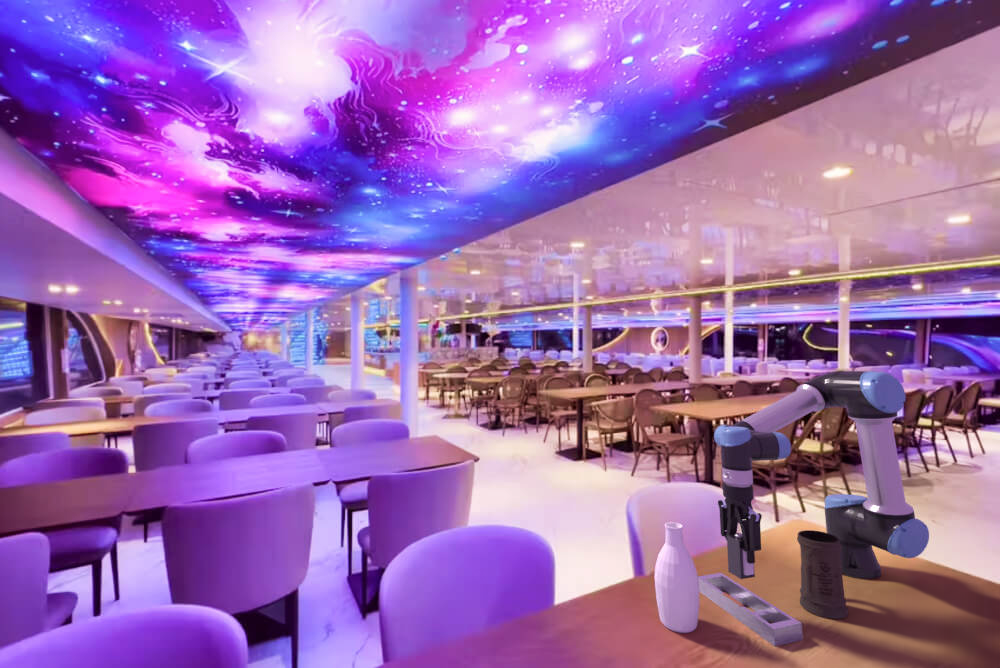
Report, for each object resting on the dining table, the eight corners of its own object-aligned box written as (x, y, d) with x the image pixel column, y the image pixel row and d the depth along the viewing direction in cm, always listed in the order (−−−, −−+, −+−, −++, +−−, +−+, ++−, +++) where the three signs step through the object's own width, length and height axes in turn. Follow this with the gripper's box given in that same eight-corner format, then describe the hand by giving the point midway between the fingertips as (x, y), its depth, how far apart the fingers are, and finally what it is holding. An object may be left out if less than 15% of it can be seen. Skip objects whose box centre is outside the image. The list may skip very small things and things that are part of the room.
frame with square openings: (721, 586, 136) (720, 571, 137) (802, 639, 110) (801, 621, 110) (697, 590, 134) (696, 575, 135) (774, 646, 108) (773, 627, 108)
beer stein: (858, 622, 116) (850, 542, 119) (812, 619, 118) (805, 539, 121) (828, 596, 131) (821, 525, 134) (787, 593, 133) (781, 523, 136)
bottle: (680, 641, 111) (675, 536, 112) (647, 618, 120) (642, 522, 122) (711, 627, 116) (705, 527, 117) (676, 607, 126) (671, 515, 127)
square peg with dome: (741, 569, 125) (740, 530, 126) (754, 576, 121) (752, 536, 122) (728, 571, 124) (726, 532, 125) (740, 579, 120) (739, 538, 121)
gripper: (704, 476, 132) (707, 558, 130) (751, 493, 115) (755, 587, 113) (725, 474, 134) (729, 555, 132) (775, 491, 117) (779, 583, 115)
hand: (741, 569), depth 123 cm, fingers closed on square peg with dome, 4 cm apart
